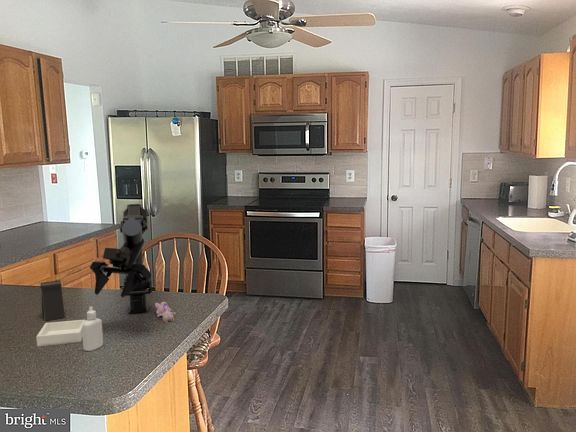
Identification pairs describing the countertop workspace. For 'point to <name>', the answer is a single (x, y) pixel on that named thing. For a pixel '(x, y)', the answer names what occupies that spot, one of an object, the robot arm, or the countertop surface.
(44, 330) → the tray
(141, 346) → the countertop surface
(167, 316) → the pink creature figurine
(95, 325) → the eye dropper bottle
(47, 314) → the phone stand
